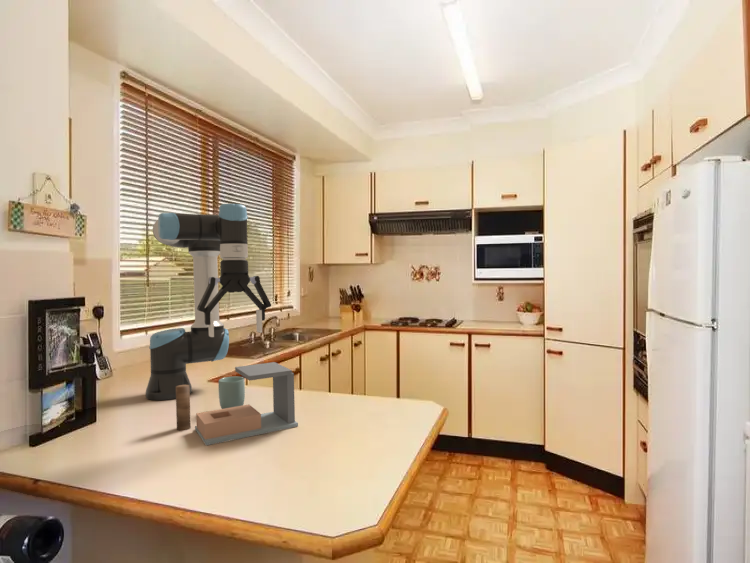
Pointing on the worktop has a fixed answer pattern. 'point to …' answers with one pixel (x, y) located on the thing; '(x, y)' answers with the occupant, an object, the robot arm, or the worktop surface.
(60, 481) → the worktop surface
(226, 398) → the cup
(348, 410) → the worktop surface
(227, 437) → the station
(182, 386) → the peg
